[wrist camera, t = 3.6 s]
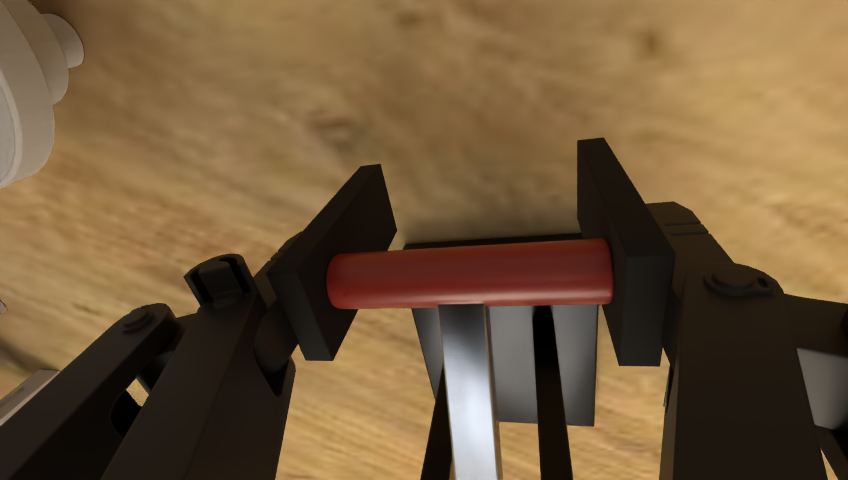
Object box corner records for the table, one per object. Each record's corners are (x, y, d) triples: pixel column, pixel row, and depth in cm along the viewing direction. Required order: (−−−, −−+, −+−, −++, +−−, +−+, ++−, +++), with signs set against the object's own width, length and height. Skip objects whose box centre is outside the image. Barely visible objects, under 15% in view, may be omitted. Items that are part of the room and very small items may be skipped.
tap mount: (404, 243, 20) (231, 637, 8) (595, 231, 18) (778, 763, 6) (442, 399, 26) (378, 767, 14) (590, 406, 24) (673, 855, 11)
